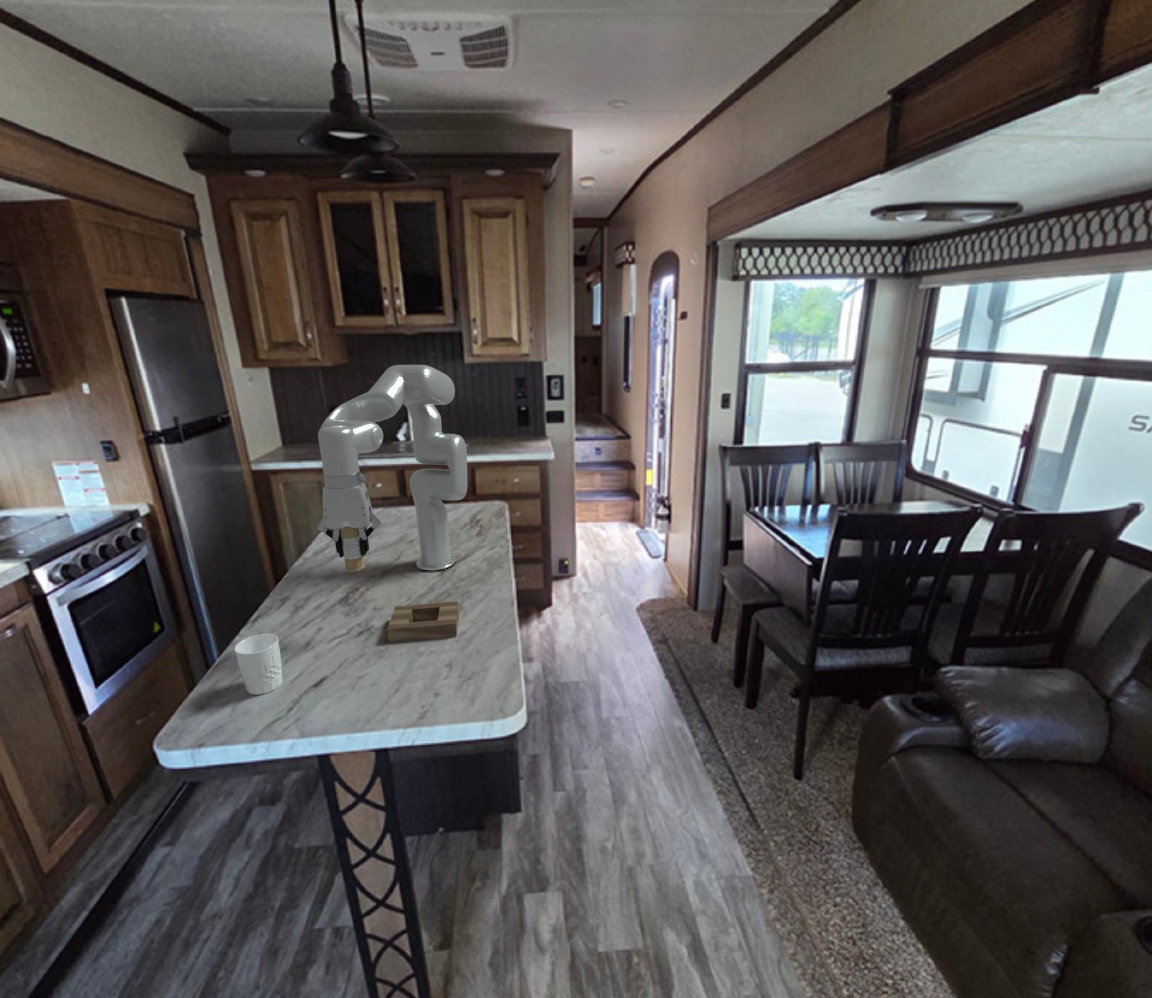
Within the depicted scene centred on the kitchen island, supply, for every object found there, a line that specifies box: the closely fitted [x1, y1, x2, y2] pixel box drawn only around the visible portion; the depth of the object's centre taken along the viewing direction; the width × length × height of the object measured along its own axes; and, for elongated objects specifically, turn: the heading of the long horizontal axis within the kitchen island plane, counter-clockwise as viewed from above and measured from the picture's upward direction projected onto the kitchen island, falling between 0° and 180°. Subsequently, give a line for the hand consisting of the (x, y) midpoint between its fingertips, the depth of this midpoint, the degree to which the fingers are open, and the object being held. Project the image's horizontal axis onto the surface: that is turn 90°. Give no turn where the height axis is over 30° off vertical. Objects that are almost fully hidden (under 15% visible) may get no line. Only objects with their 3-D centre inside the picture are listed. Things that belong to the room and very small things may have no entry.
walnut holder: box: [386, 600, 460, 643], centre depth 136 cm, size 12×16×4 cm
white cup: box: [233, 633, 284, 696], centre depth 113 cm, size 8×8×10 cm
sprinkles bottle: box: [340, 521, 366, 573], centre depth 128 cm, size 5×5×14 cm
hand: (353, 553), depth 129 cm, fingers closed on sprinkles bottle, 4 cm apart
